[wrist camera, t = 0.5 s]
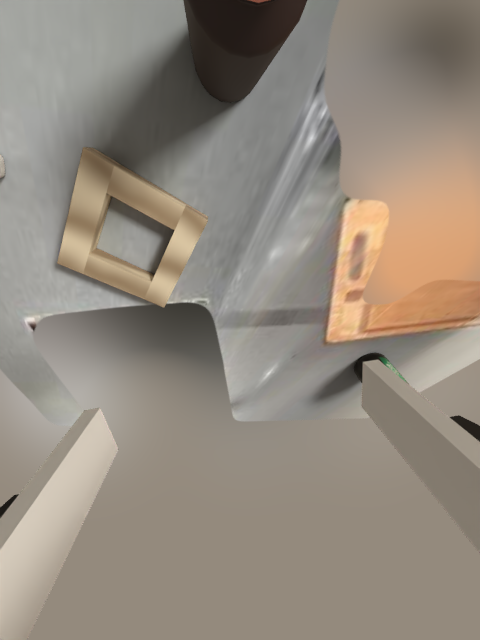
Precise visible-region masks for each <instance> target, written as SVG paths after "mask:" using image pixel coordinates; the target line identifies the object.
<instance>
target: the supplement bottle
mask: <svg viewBox="0 0 480 640" xmlns="http://www.w3.org/2000/svg"><path fill="white" fill-rule="evenodd" d="M372 360H379V361H380V362H382V363H383V364H384V365H385V366H387V367H388V368H389V369H390V370H391V371H393V372H394V373H395V374H396V375H398V376H399V377H400V378H401V379H403V380H404V381H405V382H406V383H408V382H407V381H406V380H405V379H404V378H403V377H402V376H401V374H400V373H399V372H398V371H397V370H396V369H395V367H394V366H393V365H392V364H391V363H390V362H389V361H388V359H387V358H386V357H385V356H384V355H382V354H379V353H370V354H367V355H365V356H363V357H361V358H360V359H359V360H358V361H357V362H356V364H355V366H354V371H355V373H356V375H357V377H358V378H359V380H360V381H361V383H362V373H363V362H366V361H372Z"/></svg>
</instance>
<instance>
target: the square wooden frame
mask: <svg viewBox="0 0 480 640" xmlns="http://www.w3.org/2000/svg"><path fill="white" fill-rule="evenodd" d="M112 196H113V197H114V198H116V199H118V200H120V201H122V202H124V203H125V204H127V205H129V206H131V207H133V208H135V209H136V210H138V211H140V212H142V213H144V214H146V215H147V216H149V217H151V218H153V219H155V220H157V221H158V222H160V223H162V224H164V225H166V226H168V227H169V228H171V229H173V230H175V231H174V233H173V235H172V237H171V240H170V242H169V244H168V246H167V249H166V251H165V253H164V255H163V258H162V260H161V262H160V264H159V267H158V269H157V271H156V273H155V275H154V274H152V273H150V272H147V271H145V270H143V269H141V268H139V267H136V266H134V265H132V264H130V263H128V262H126V261H123V260H121V259H119V258H117V257H115V256H112V255H110V254H108V253H106V252H104V251H102V250H99V249H97V248H96V247H97V244H98V241H99V237H100V234H101V231H102V227H103V224H104V221H105V217H106V214H107V211H108V207H109V204H110V201H111V197H112ZM207 222H208V217H207V216H206V215H204V214H202V213H201V212H199V211H197V210H196V209H194V208H192V207H191V206H189V205H187V204H186V203H184V202H182V201H181V200H179V199H177V198H176V197H174V196H172V195H171V194H169V193H167V192H166V191H164V190H162V189H161V188H159V187H157V186H156V185H154V184H152V183H151V182H149V181H147V180H146V179H144V178H142V177H141V176H139V175H137V174H136V173H134V172H133V171H131V170H129V169H128V168H126V167H124V166H123V165H121V164H119V163H118V162H116V161H114V160H113V159H111V158H109V157H108V156H106V155H104V154H103V153H101V152H99V151H98V150H96V149H94V148H88V147H83V150H82V155H81V159H80V164H79V168H78V173H77V177H76V182H75V186H74V190H73V195H72V199H71V204H70V208H69V213H68V217H67V222H66V226H65V231H64V235H63V240H62V244H61V249H60V253H59V258H58V262H57V263H58V264H60V265H63V266H65V267H67V268H70V269H72V270H75V271H77V272H79V273H82V274H84V275H87V276H89V277H92V278H94V279H96V280H99V281H101V282H104V283H106V284H109V285H111V286H113V287H116V288H118V289H121V290H123V291H125V292H128V293H130V294H133V295H135V296H138V297H140V298H142V299H145V300H147V301H150V302H152V303H154V304H157V305H159V306H162V307H165V305H166V303H167V301H168V299H169V297H170V295H171V293H172V291H173V289H174V287H175V285H176V283H177V281H178V279H179V277H180V275H181V273H182V271H183V269H184V267H185V265H186V263H187V261H188V259H189V257H190V255H191V253H192V251H193V249H194V247H195V245H196V243H197V241H198V239H199V237H200V235H201V233H202V232H203V230H204V228H205V226H206V224H207Z"/></svg>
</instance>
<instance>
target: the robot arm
mask: <svg viewBox="0 0 480 640" xmlns="http://www.w3.org/2000/svg"><path fill="white" fill-rule="evenodd" d="M362 408H363V409H364V410H365V412H366V413H367V414H368V415H369V416H370V418H371V419H372V420H373V421H374V423H375V424H376V425H377V426H378V428H379V429H380V430H381V431H382V432H383V434H384V435H385V436H386V437H387V439H388V440H389V441H390V442H391V444H392V445H393V446H394V447H395V449H396V450H397V451H398V452H399V454H400V455H401V456H402V457H403V459H404V460H405V461H406V462H407V464H408V465H409V466H410V467H411V469H412V470H413V471H414V472H415V474H416V475H417V476H418V477H419V479H420V480H421V481H422V482H423V483H424V485H425V486H426V487H427V488H428V490H429V491H430V492H431V493H432V495H433V496H434V497H435V498H436V500H437V501H438V502H439V503H440V504H441V506H442V507H443V508H444V510H445V511H446V512H447V513H448V514H449V516H450V517H451V518H452V520H453V521H454V522H455V523H456V524H457V526H458V527H459V528H460V529H461V531H462V532H463V533H464V534H465V536H466V537H467V538H468V539H469V541H470V542H471V543H472V544H473V545H474V547H475V548H476V549H477V551H478V552H479V553H480V426H479V425H477V424H475V423H473V422H471V421H469V420H467V419H465V418H463V417H461V416H454V417H448V416H447V415H446V414H445V413H443V412H442V411H441V410H440V409H438V408H437V407H436V406H435V405H433V404H432V403H431V402H430V401H429V400H427V399H426V398H425V397H424V396H422V395H421V394H420V393H419V392H417V391H416V390H415V389H414V388H412V387H411V386H410V385H409V384H408V383H406V382H405V381H404V380H403V379H401V378H400V377H399V376H398V375H396V374H395V373H394V372H393V371H391V370H390V369H389V368H388V367H387V366H385V365H384V364H383V363H382V362H380V361H379V360H372V361H366V362H363V373H362ZM117 452H118V447H117V445H116V443H115V440H114V438H113V436H112V433H111V431H110V429H109V427H108V424H107V422H106V420H105V418H104V415H103V413H102V411H101V409H100V408H95V409H89V410H84V412H83V413H82V414H81V416H80V417H79V418H78V419H77V421H76V422H75V423H74V425H73V426H72V427H71V428H70V430H69V431H68V432H67V434H66V435H65V436H64V438H63V439H62V440H61V441H60V443H59V444H58V445H57V446H56V448H55V449H54V450H53V451H52V453H51V454H50V455H49V457H48V458H47V459H46V461H45V462H44V463H43V465H42V466H41V467H40V468H39V469H38V471H37V472H36V473H35V475H34V476H33V477H32V479H31V480H30V481H29V482H28V484H27V485H26V486H25V487H24V489H23V490H22V491H21V493H20V494H18V495H14V496H13V497H12V498H11V499H9V500H8V501H7V502H6V503H5V504H4V505H3V506H2V507H0V640H27V639H28V637H29V635H30V632H31V630H32V628H33V626H34V624H35V622H36V620H37V618H38V616H39V614H40V611H41V609H42V607H43V605H44V603H45V601H46V599H47V597H48V595H49V593H50V591H51V589H52V587H53V585H54V583H55V580H56V578H57V576H58V574H59V572H60V570H61V568H62V566H63V564H64V562H65V560H66V558H67V555H68V553H69V551H70V549H71V547H72V545H73V543H74V541H75V539H76V537H77V534H78V533H79V531H80V529H81V526H82V524H83V522H84V520H85V518H86V516H87V514H88V512H89V510H90V508H91V506H92V503H93V501H94V499H95V497H96V495H97V493H98V491H99V489H100V487H101V485H102V483H103V481H104V479H105V477H106V474H107V472H108V470H109V468H110V466H111V464H112V462H113V460H114V458H115V456H116V454H117Z"/></svg>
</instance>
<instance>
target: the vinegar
mask: <svg viewBox="0 0 480 640" xmlns="http://www.w3.org/2000/svg"><path fill="white" fill-rule="evenodd" d="M306 2H307V0H184V6H185V12H186V18H187V24H188V30H189V36H190V42H191V48H192V54H193V59H194V64H195V69H196V72H197V75H198V77H199V79H200V81H201V83H202V85H203V86H204V87H205V89H206V90H207V91H208V92H209V93H210V95H212V96H213V97H215V98H217V99H218V100H220V101H224V102H229V103H231V102H235V101H240V100H241V99H243V98H244V97H246V96H247V95H248V94H249V93H250V92H251V91H252V89H253V88H254V86H255V85H256V84H257V82H258V81H259V79H260V78H261V76H262V75H263V73H264V72H265V70H266V69H267V67H268V66H269V64H270V63H271V62H272V60H273V59H274V57H275V56H276V54H277V53H278V51H279V50H280V48H281V47H282V45H283V44H284V42H285V41H286V39H287V38H288V36H289V35H290V33H291V32H292V31H293V29H294V28H295V26H296V25H297V23H298V22H299V20H300V17H301V15H302V12H303V10H304V7H305V5H306Z"/></svg>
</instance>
